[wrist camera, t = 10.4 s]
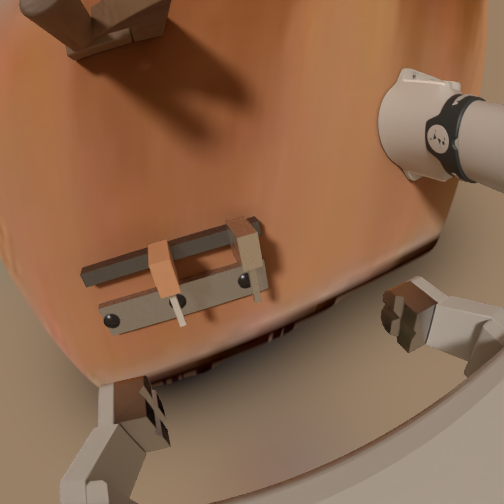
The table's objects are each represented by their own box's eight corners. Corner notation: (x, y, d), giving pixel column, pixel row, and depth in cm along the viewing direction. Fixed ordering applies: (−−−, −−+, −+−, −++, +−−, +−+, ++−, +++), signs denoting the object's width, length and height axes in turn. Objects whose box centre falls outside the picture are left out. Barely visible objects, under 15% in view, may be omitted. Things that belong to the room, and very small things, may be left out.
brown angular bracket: (164, 36, 29) (178, -24, 13) (74, 61, 27) (16, 27, 11) (159, 9, 27) (172, -63, 11) (70, 35, 25) (15, -15, 9)
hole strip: (261, 255, 45) (264, 259, 44) (265, 284, 47) (269, 289, 46) (98, 304, 40) (97, 310, 39) (111, 330, 43) (111, 336, 41)
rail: (252, 208, 41) (272, 227, 35) (263, 271, 46) (282, 298, 40) (78, 260, 37) (68, 289, 31) (106, 318, 42) (103, 352, 35)
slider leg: (166, 239, 37) (169, 259, 33) (187, 303, 42) (194, 328, 38) (147, 245, 37) (148, 265, 32) (171, 308, 42) (175, 334, 37)
